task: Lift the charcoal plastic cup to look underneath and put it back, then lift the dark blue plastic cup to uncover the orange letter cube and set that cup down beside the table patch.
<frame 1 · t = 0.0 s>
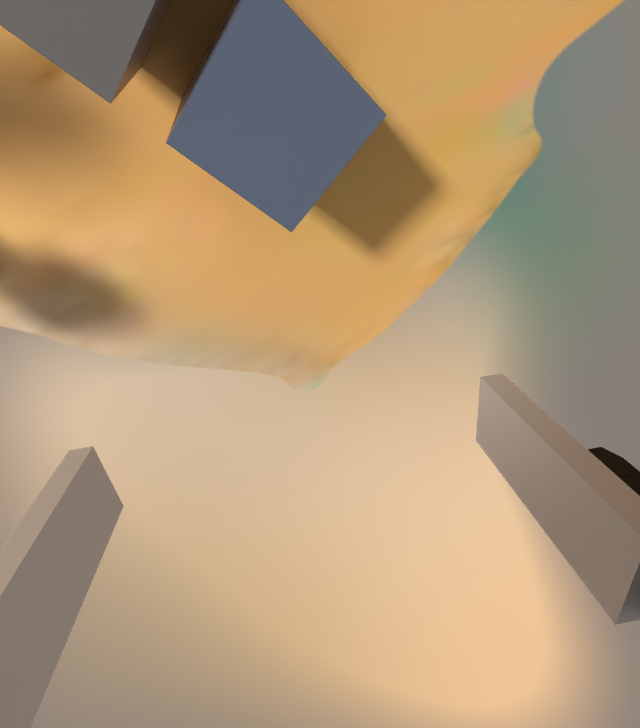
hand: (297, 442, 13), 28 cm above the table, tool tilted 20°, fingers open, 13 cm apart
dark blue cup: (267, 89, 29), on the table
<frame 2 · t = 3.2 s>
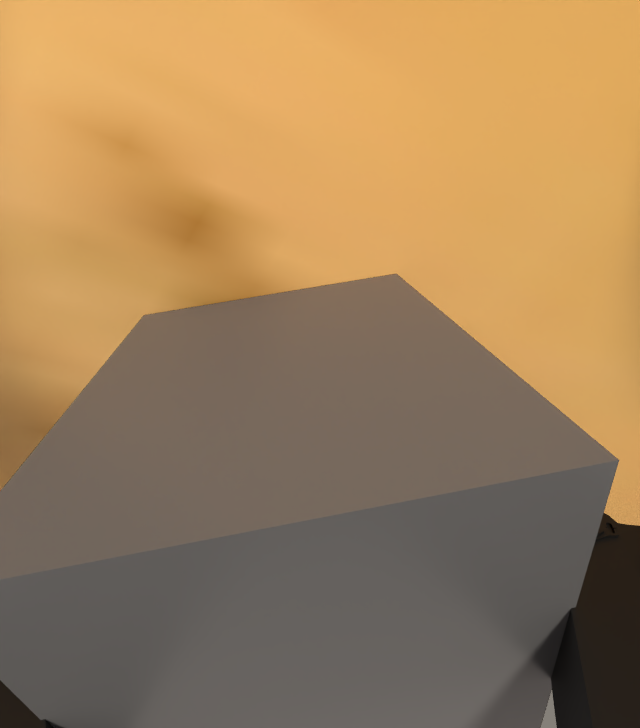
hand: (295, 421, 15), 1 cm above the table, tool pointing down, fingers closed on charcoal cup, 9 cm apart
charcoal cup: (292, 400, 16), on the table, touching gripper
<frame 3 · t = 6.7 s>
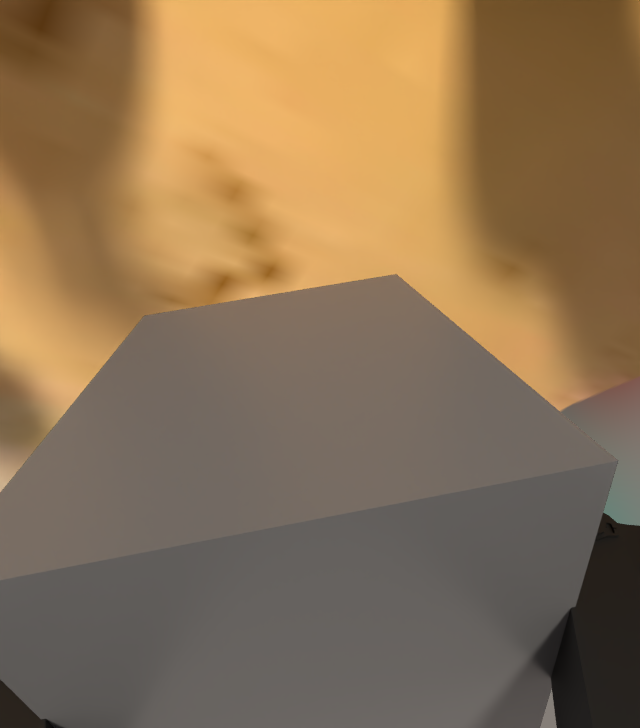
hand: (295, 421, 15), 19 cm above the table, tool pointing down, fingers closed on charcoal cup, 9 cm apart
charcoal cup: (292, 400, 16), point 18 cm above the table, touching gripper
when the fingers open (2 cm above the table, at t = 10.3 s): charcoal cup stays where it is, on the table.
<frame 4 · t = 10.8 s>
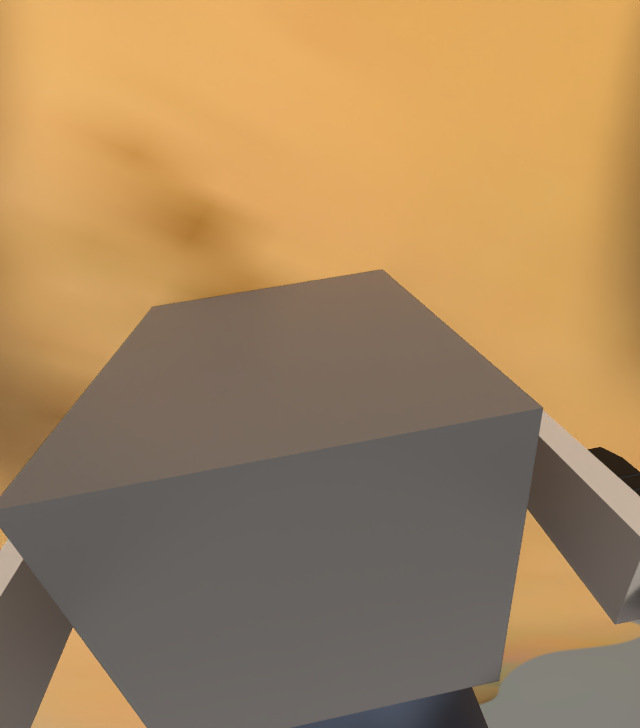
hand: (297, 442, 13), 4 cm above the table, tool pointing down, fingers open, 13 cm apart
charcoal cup: (288, 386, 17), on the table
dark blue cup: (321, 562, 23), on the table
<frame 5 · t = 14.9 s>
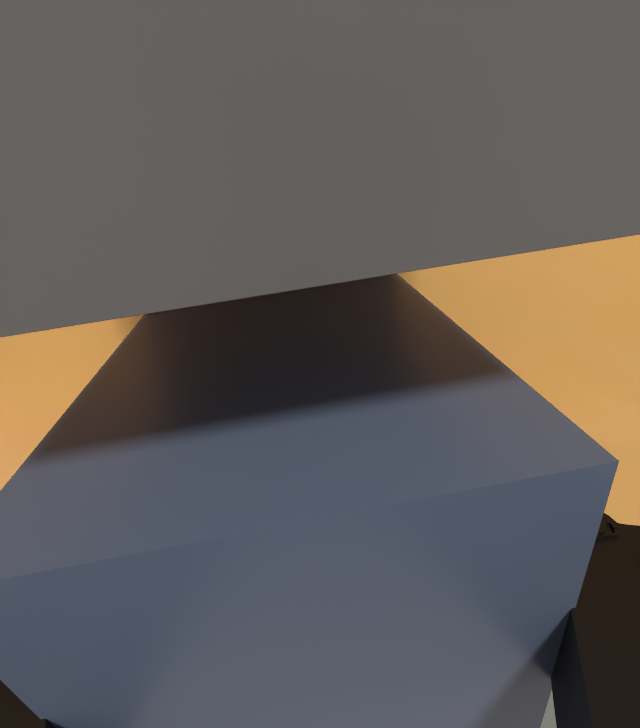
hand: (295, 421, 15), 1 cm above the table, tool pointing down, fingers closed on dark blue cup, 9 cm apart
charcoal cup: (222, 21, 10), on the table
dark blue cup: (293, 400, 16), on the table, touching gripper
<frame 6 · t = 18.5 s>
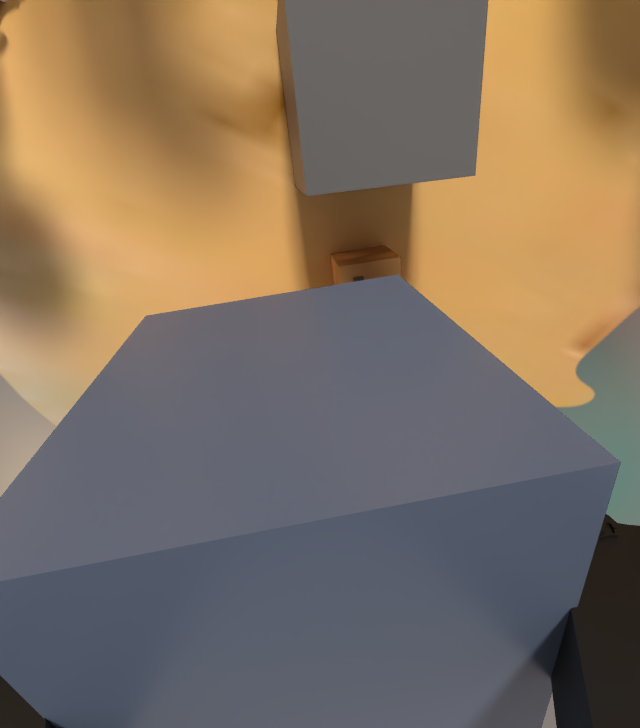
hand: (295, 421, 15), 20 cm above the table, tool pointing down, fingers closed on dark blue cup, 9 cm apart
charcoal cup: (350, 107, 27), on the table
letter cube: (365, 284, 31), on the table
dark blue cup: (294, 400, 16), point 18 cm above the table, touching gripper
when the fingers open (3 cm above the table, at t = 22.6 s): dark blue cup drops 1 cm, on the table.
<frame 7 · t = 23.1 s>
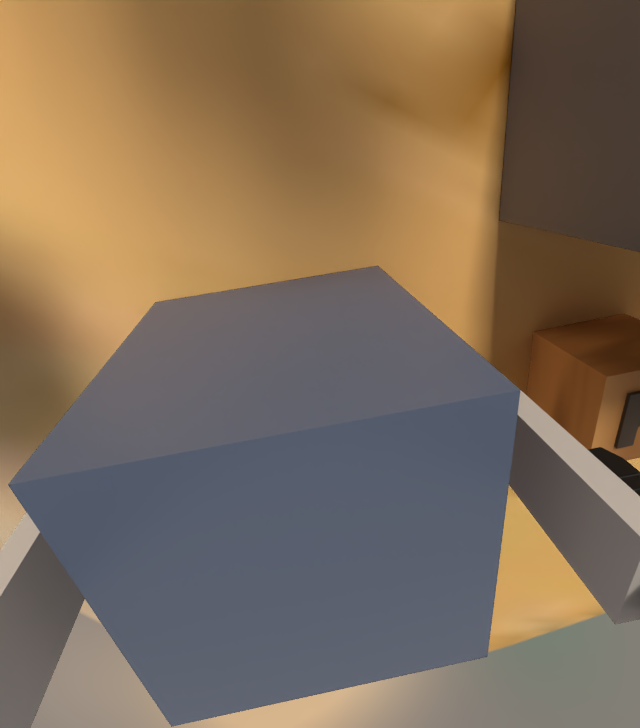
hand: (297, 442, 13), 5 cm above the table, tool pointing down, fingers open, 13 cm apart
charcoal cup: (631, 67, 14), on the table
letter cube: (607, 387, 17), on the table
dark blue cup: (287, 380, 18), on the table
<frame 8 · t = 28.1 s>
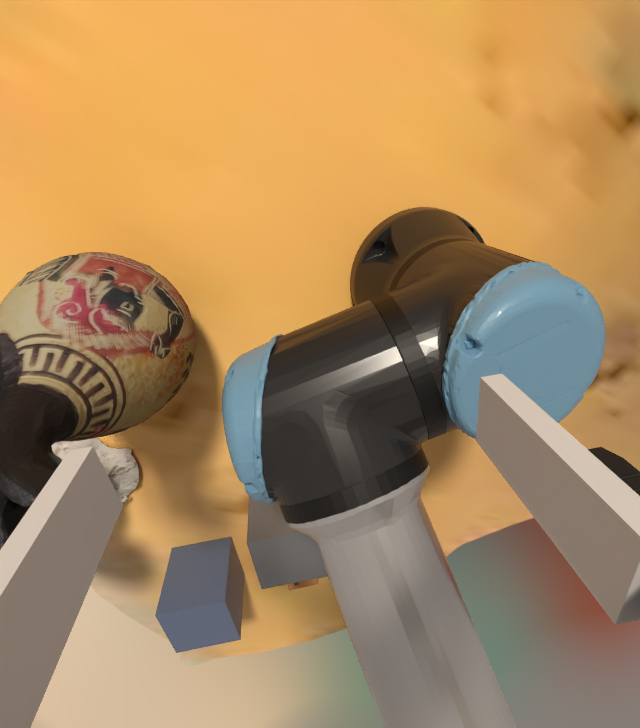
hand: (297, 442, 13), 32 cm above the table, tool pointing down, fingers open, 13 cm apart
ceramic jug: (126, 306, 42), on the table
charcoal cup: (286, 499, 58), on the table
grey piece: (89, 466, 51), on the table
letter cube: (299, 564, 61), on the table
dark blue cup: (209, 561, 62), on the table
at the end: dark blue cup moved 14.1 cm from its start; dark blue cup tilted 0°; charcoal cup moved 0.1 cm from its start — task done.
